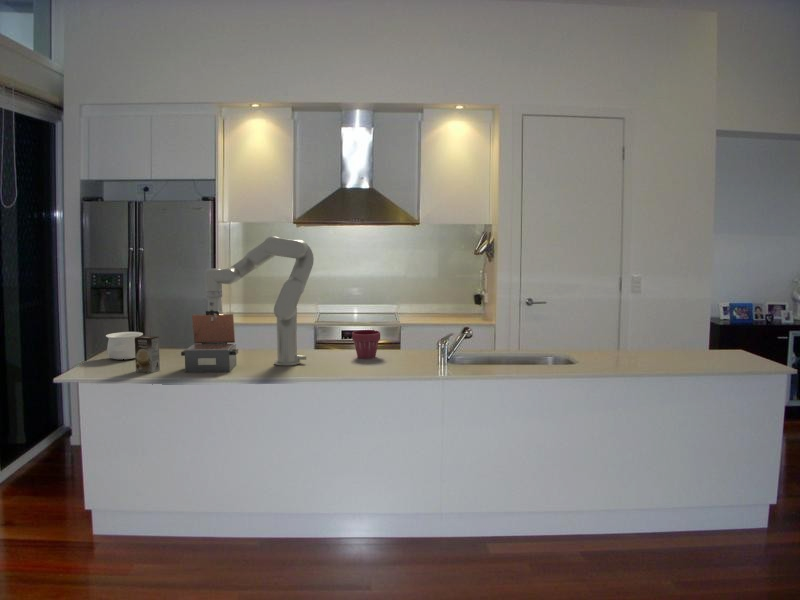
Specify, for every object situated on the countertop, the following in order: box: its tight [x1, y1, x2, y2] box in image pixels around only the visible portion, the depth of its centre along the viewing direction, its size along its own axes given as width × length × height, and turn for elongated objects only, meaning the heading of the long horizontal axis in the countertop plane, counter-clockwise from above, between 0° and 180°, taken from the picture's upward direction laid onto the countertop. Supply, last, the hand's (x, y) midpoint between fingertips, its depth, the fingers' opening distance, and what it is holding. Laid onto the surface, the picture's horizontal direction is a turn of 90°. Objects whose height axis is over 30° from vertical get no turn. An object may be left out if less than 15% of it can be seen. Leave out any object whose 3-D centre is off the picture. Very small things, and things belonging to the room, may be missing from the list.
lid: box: [191, 310, 236, 344], centre depth 331 cm, size 19×16×3 cm
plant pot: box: [351, 329, 381, 360], centre depth 352 cm, size 14×14×13 cm
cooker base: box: [180, 343, 239, 373], centre depth 325 cm, size 25×17×10 cm
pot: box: [105, 331, 144, 361], centre depth 352 cm, size 22×17×12 cm
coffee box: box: [134, 334, 161, 374], centre depth 320 cm, size 9×6×16 cm
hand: (215, 332), depth 334 cm, fingers closed
